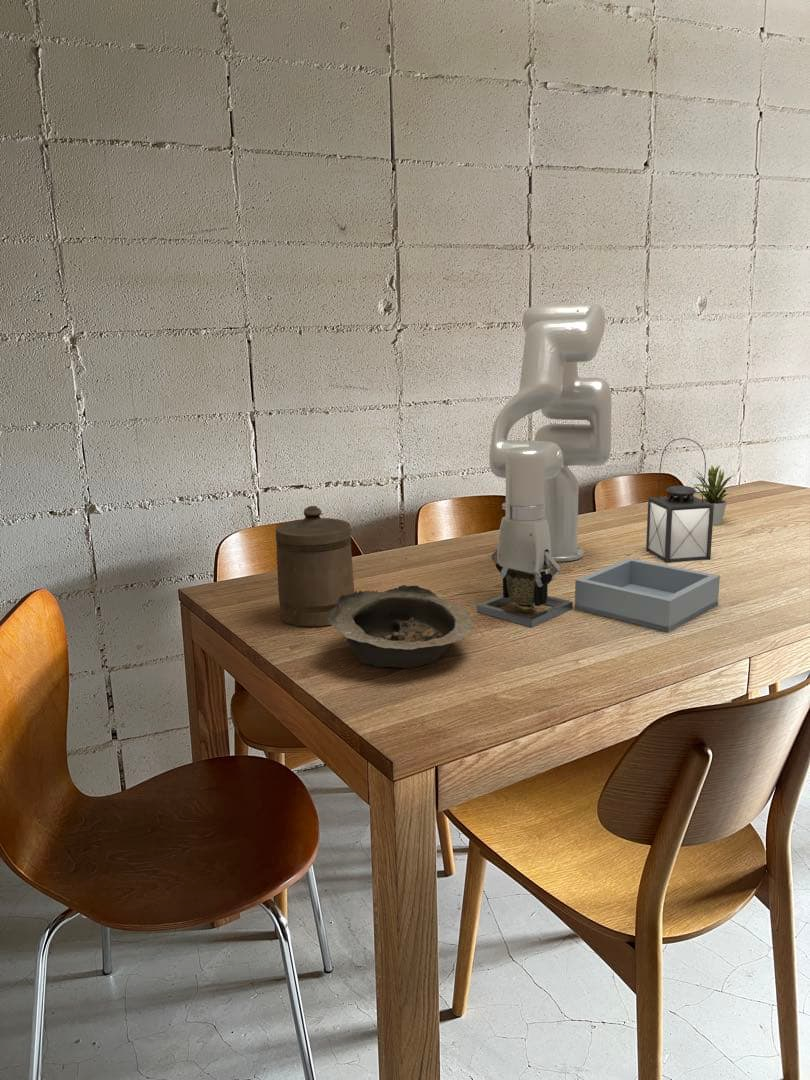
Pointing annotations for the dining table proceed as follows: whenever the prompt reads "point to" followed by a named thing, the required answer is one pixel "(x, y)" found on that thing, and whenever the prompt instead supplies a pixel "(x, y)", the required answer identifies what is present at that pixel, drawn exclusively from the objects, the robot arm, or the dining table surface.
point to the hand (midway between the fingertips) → (524, 599)
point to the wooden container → (313, 567)
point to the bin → (647, 593)
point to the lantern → (679, 524)
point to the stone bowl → (399, 625)
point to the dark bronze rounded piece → (521, 589)
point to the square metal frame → (491, 610)
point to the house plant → (714, 493)
